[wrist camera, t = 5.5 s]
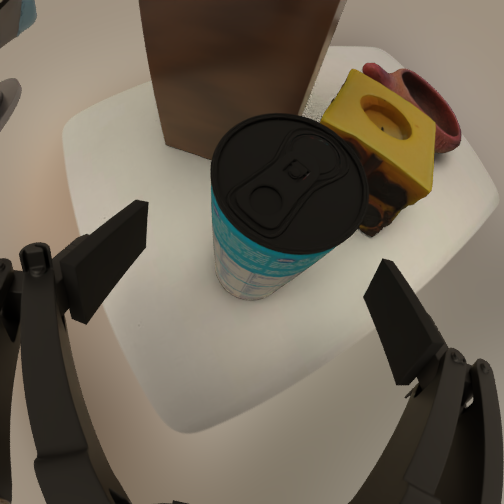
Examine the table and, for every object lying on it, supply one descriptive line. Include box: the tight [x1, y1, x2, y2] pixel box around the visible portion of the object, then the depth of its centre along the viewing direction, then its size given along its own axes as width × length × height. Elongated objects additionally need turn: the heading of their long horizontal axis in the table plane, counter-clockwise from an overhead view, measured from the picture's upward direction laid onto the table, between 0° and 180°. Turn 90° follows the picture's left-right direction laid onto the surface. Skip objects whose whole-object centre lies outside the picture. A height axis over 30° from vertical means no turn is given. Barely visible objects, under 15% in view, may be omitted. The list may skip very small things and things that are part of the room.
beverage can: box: [211, 113, 369, 300], centre depth 16 cm, size 6×6×15 cm
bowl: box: [362, 63, 461, 153], centre depth 28 cm, size 16×13×8 cm
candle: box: [320, 69, 436, 237], centre depth 23 cm, size 10×10×10 cm
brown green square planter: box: [139, 0, 347, 160], centre depth 17 cm, size 12×10×22 cm
